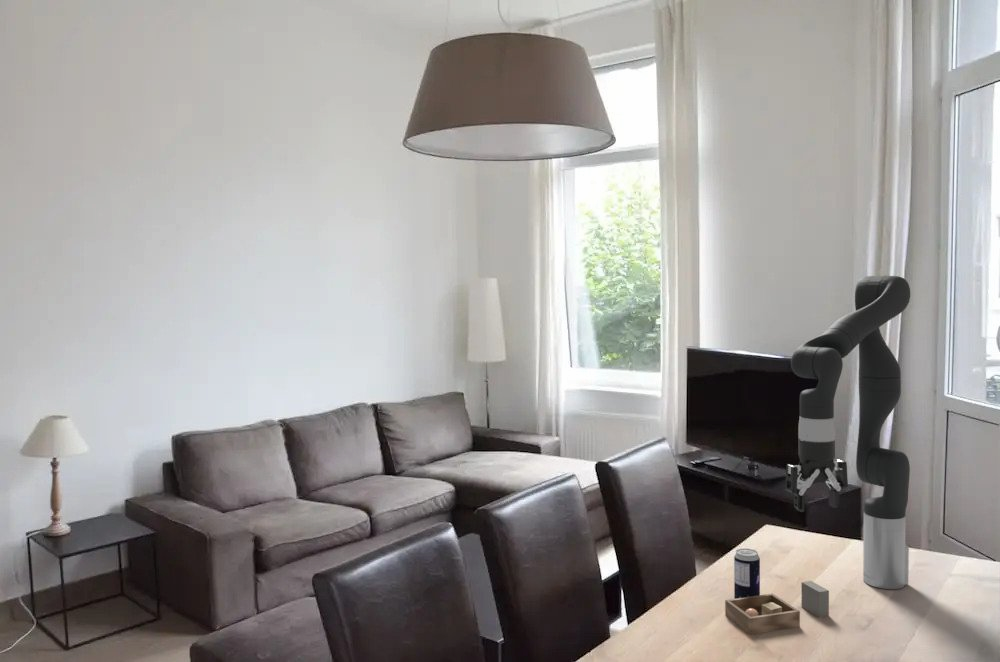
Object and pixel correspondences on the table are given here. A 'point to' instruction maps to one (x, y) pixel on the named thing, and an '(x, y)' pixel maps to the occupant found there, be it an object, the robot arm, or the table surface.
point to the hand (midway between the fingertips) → (816, 508)
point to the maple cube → (771, 608)
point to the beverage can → (746, 573)
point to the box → (762, 622)
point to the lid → (815, 599)
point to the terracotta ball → (752, 612)
